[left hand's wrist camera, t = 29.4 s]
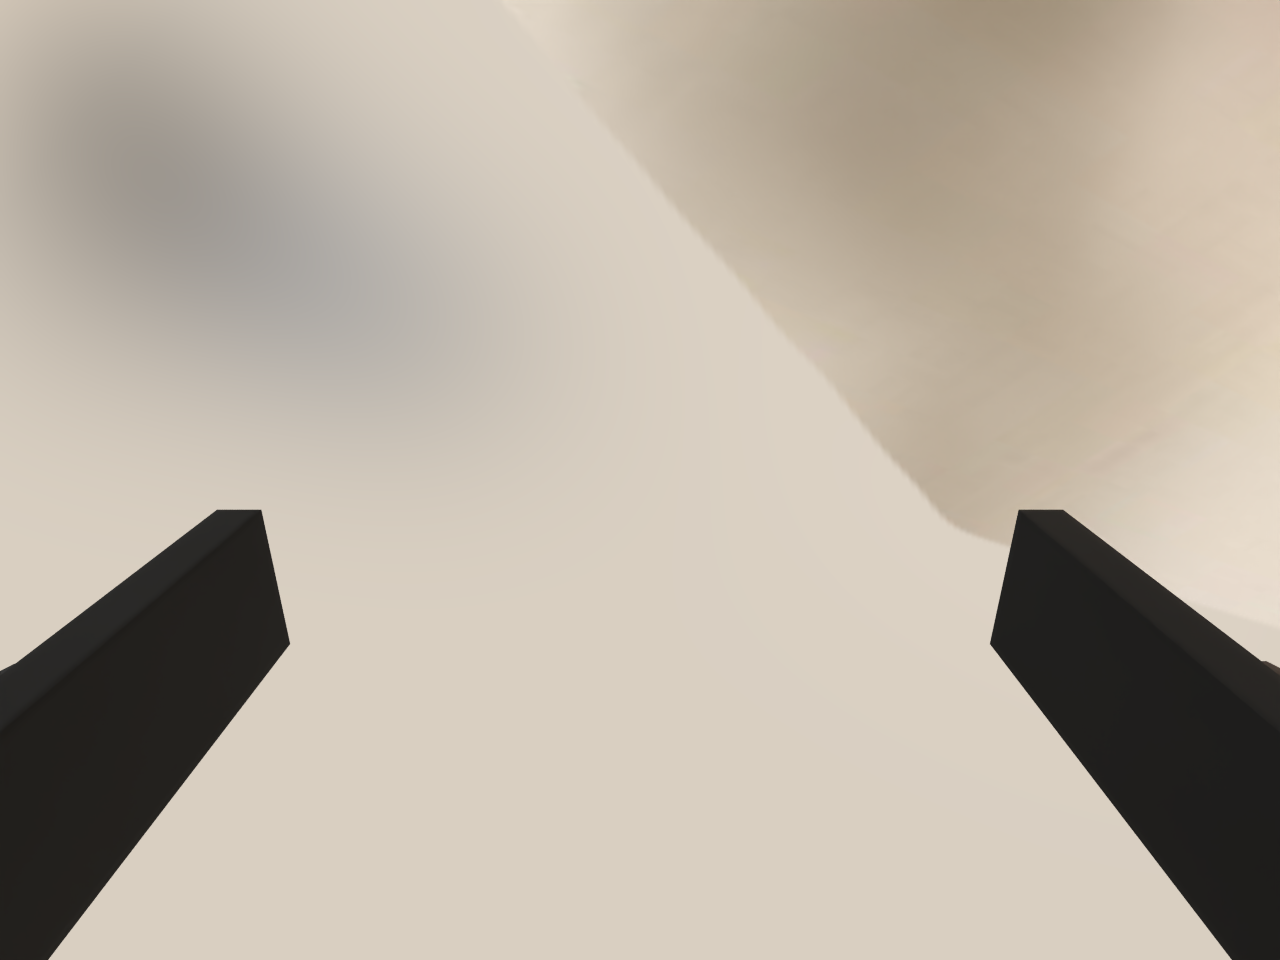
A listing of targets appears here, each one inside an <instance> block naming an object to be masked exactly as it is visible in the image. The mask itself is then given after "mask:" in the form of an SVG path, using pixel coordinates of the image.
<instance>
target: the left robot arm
mask: <svg viewBox="0 0 1280 960" xmlns="http://www.w3.org/2000/svg"><path fill="white" fill-rule="evenodd" d="M289 645H290V642H289V637H288V632H287V628H286V623H285V618H284V614H283V609H282V604H281V600H280V595H279V590H278V586H277V581H276V576H275V572H274V567H273V562H272V558H271V553H270V548H269V544H268V539H267V534H266V530H265V525H264V520H263V516H262V511H261V510H216V511H215V512H214V513H212V514H211V515H210V516H208V517H207V518H206V519H204V520H203V521H202V522H201V523H199V524H198V525H197V526H195V527H194V528H193V529H191V530H190V531H189V532H187V533H186V534H185V535H183V536H182V537H181V538H179V539H178V540H177V541H176V542H174V543H173V544H172V545H170V546H169V547H168V548H166V549H165V550H164V551H162V552H161V553H160V554H159V555H157V556H156V557H155V558H153V559H152V560H151V561H149V562H148V563H147V564H145V565H144V566H143V567H142V568H140V569H139V570H138V571H136V572H135V573H134V574H132V575H131V576H130V577H128V578H127V579H126V580H125V581H123V582H122V583H121V584H119V585H118V586H117V587H115V588H114V589H113V590H111V591H110V592H109V593H108V594H106V595H105V596H104V597H102V598H101V599H100V600H98V601H97V602H96V603H94V604H93V605H92V606H90V607H89V608H88V609H86V610H85V611H84V612H83V613H81V614H80V615H79V616H77V617H76V618H75V619H73V620H72V621H71V622H69V623H68V624H67V625H66V626H64V627H63V628H62V629H60V630H59V631H58V632H56V633H55V634H54V635H52V636H51V637H50V638H49V639H47V640H46V641H45V642H43V643H42V644H41V645H39V646H38V647H37V648H35V649H34V650H33V651H32V652H30V653H29V654H28V655H26V656H25V657H24V658H22V659H21V660H20V661H18V662H17V663H16V664H13V665H11V666H9V667H7V668H5V669H3V670H1V671H0V960H48V959H49V958H50V957H51V955H52V954H53V953H54V951H55V950H56V949H57V947H58V946H59V945H60V943H61V942H62V941H63V940H64V938H65V937H66V936H67V934H68V933H69V932H70V930H71V929H72V928H73V927H74V925H75V924H76V923H77V921H78V920H79V919H80V917H81V916H82V915H83V914H84V912H85V911H86V910H87V908H88V907H89V906H90V904H91V903H92V902H93V900H94V899H95V898H96V897H97V895H98V894H99V893H100V891H101V890H102V889H103V887H104V886H105V885H106V883H107V882H108V881H109V879H110V878H111V877H112V876H113V874H114V873H115V872H116V870H117V869H118V868H119V867H120V865H121V864H122V863H123V861H124V860H125V859H126V857H127V856H128V855H129V853H130V852H131V851H132V849H133V848H134V847H135V846H136V844H137V843H138V842H139V840H140V839H141V838H142V836H143V835H144V834H145V833H146V831H147V830H148V829H149V827H150V826H151V825H152V823H153V822H154V821H155V820H156V818H157V817H158V816H159V814H160V813H161V812H162V810H163V809H164V808H165V806H166V805H167V804H168V802H169V801H170V800H171V799H172V797H173V796H174V795H175V793H176V792H177V791H178V789H179V788H180V787H181V786H182V784H183V783H184V782H185V780H186V779H187V778H188V776H189V775H190V774H191V773H192V771H193V770H194V769H195V767H196V766H197V765H198V763H199V762H200V761H201V759H202V758H203V757H204V756H205V754H206V753H207V752H208V750H209V749H210V748H211V746H212V745H213V744H214V742H215V741H216V740H217V739H218V737H219V736H220V735H221V733H222V732H223V731H224V729H225V728H226V727H227V725H228V724H229V723H230V722H231V720H232V719H233V718H234V716H235V715H236V714H237V712H238V711H239V710H240V709H241V707H242V706H243V705H244V703H245V702H246V701H247V699H248V698H249V697H250V695H251V694H252V693H253V692H254V690H255V689H256V688H257V686H258V685H259V684H260V682H261V681H262V680H263V678H264V677H265V676H266V675H267V673H268V672H269V671H270V669H271V668H272V667H273V665H274V664H275V663H276V662H277V660H278V659H279V658H280V656H281V655H282V654H283V652H284V651H285V650H286V648H287V647H288V646H289ZM990 645H991V646H992V647H993V648H994V650H995V651H996V652H997V654H998V655H999V656H1000V658H1001V659H1002V660H1003V662H1004V663H1005V664H1006V665H1007V667H1008V668H1009V669H1010V671H1011V672H1012V673H1013V675H1014V676H1015V677H1016V678H1017V680H1018V681H1019V682H1020V684H1021V685H1022V686H1023V688H1024V689H1025V690H1026V692H1027V693H1028V694H1029V695H1030V697H1031V698H1032V699H1033V701H1034V702H1035V703H1036V705H1037V706H1038V707H1039V708H1040V710H1041V711H1042V712H1043V714H1044V715H1045V716H1046V718H1047V719H1048V720H1049V722H1050V723H1051V724H1052V725H1053V727H1054V728H1055V729H1056V731H1057V732H1058V733H1059V735H1060V736H1061V737H1062V739H1063V740H1064V741H1065V742H1066V744H1067V745H1068V746H1069V748H1070V749H1071V750H1072V752H1073V753H1074V754H1075V755H1076V757H1077V758H1078V759H1079V761H1080V762H1081V763H1082V765H1083V766H1084V767H1085V769H1086V770H1087V771H1088V772H1089V774H1090V775H1091V776H1092V778H1093V779H1094V780H1095V782H1096V783H1097V784H1098V785H1099V787H1100V788H1101V789H1102V791H1103V792H1104V793H1105V795H1106V796H1107V797H1108V798H1109V800H1110V801H1111V803H1112V804H1113V805H1114V806H1115V808H1116V809H1117V810H1118V812H1119V813H1120V814H1121V816H1122V817H1123V818H1124V819H1125V821H1126V822H1127V823H1128V825H1129V826H1130V827H1131V829H1132V830H1133V831H1134V833H1135V834H1136V835H1137V836H1138V838H1139V839H1140V840H1141V842H1142V843H1143V844H1144V846H1145V847H1146V848H1147V850H1148V851H1149V852H1150V853H1151V855H1152V856H1153V857H1154V859H1155V860H1156V861H1157V863H1158V864H1159V865H1160V867H1161V868H1162V869H1163V870H1164V872H1165V873H1166V874H1167V876H1168V877H1169V878H1170V880H1171V881H1172V882H1173V883H1174V885H1175V886H1176V887H1177V889H1178V890H1179V891H1180V893H1181V894H1182V895H1183V896H1184V898H1185V899H1186V900H1187V902H1188V903H1189V904H1190V906H1191V907H1192V908H1193V910H1194V911H1195V912H1196V913H1197V915H1198V916H1199V917H1200V919H1201V920H1202V921H1203V923H1204V924H1205V925H1206V927H1207V928H1208V929H1209V930H1210V932H1211V933H1212V934H1213V936H1214V937H1215V938H1216V940H1217V941H1218V942H1219V944H1220V945H1221V946H1222V947H1223V949H1224V950H1225V951H1226V953H1227V954H1228V955H1229V956H1230V958H1231V959H1232V960H1280V668H1279V667H1277V666H1275V665H1273V664H1271V663H1269V662H1267V661H1260V660H1259V659H1258V658H1256V657H1255V656H1254V655H1252V654H1251V653H1250V652H1249V651H1247V650H1246V649H1245V648H1243V647H1242V646H1241V645H1239V644H1238V643H1237V642H1235V641H1234V640H1233V639H1231V638H1230V637H1229V636H1228V635H1226V634H1225V633H1224V632H1222V631H1221V630H1220V629H1218V628H1217V627H1216V626H1214V625H1213V624H1212V623H1211V622H1209V621H1208V620H1207V619H1205V618H1204V617H1203V616H1201V615H1200V614H1199V613H1197V612H1196V611H1195V610H1193V609H1192V608H1191V607H1190V606H1188V605H1187V604H1186V603H1184V602H1183V601H1182V600H1180V599H1179V598H1178V597H1176V596H1175V595H1174V594H1173V593H1171V592H1170V591H1169V590H1167V589H1166V588H1165V587H1163V586H1162V585H1161V584H1159V583H1158V582H1157V581H1156V580H1154V579H1153V578H1152V577H1150V576H1149V575H1148V574H1146V573H1145V572H1144V571H1142V570H1141V569H1140V568H1138V567H1137V566H1136V565H1135V564H1133V563H1132V562H1131V561H1129V560H1128V559H1127V558H1125V557H1124V556H1123V555H1121V554H1120V553H1119V552H1118V551H1116V550H1115V549H1114V548H1112V547H1111V546H1110V545H1108V544H1107V543H1106V542H1104V541H1103V540H1102V539H1101V538H1099V537H1098V536H1097V535H1095V534H1094V533H1093V532H1091V531H1090V530H1089V529H1087V528H1086V527H1085V526H1083V525H1082V524H1081V523H1080V522H1078V521H1077V520H1076V519H1074V518H1073V517H1072V516H1070V515H1069V514H1068V513H1066V512H1065V511H1064V510H1019V511H1018V516H1017V520H1016V525H1015V530H1014V534H1013V539H1012V544H1011V548H1010V553H1009V558H1008V562H1007V567H1006V572H1005V576H1004V581H1003V586H1002V590H1001V595H1000V600H999V604H998V609H997V614H996V618H995V623H994V628H993V632H992V637H991V642H990Z"/></svg>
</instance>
